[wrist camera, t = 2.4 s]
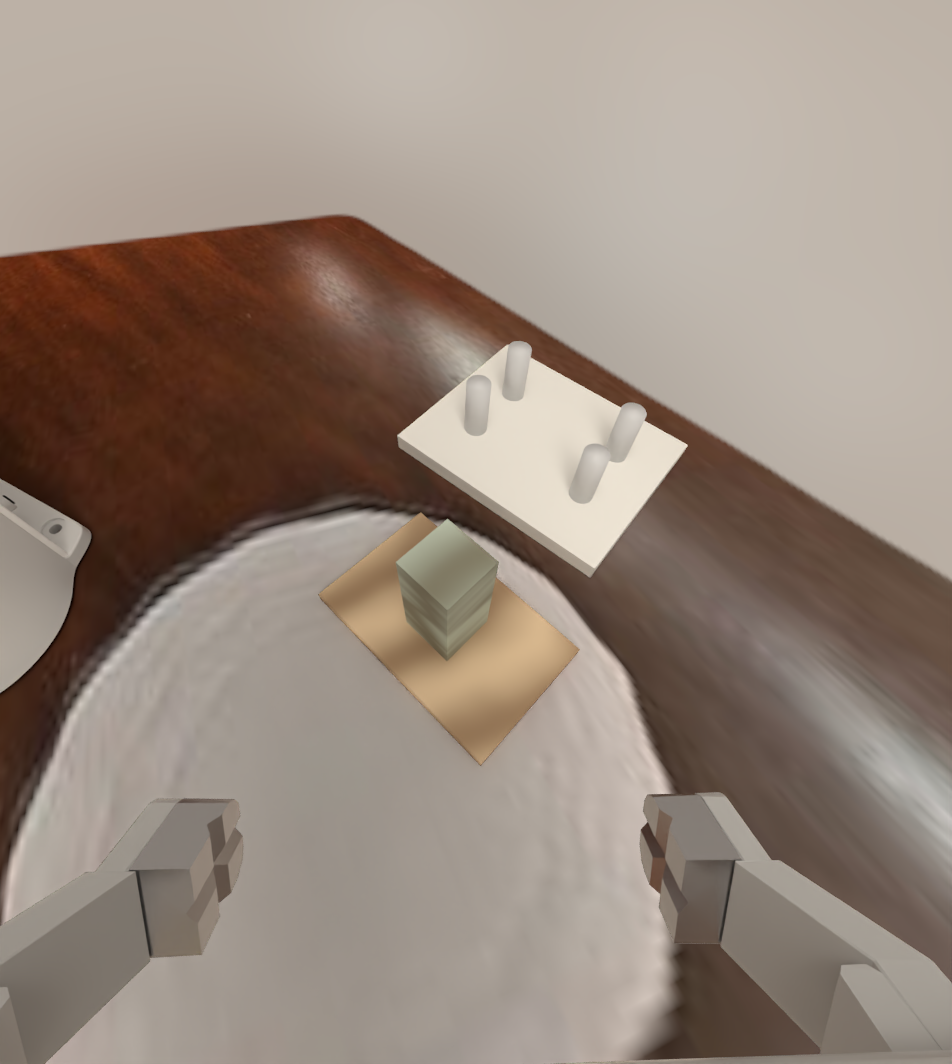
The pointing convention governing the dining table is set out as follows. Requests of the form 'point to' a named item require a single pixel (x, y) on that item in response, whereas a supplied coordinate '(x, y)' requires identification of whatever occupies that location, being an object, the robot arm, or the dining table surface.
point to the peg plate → (545, 454)
